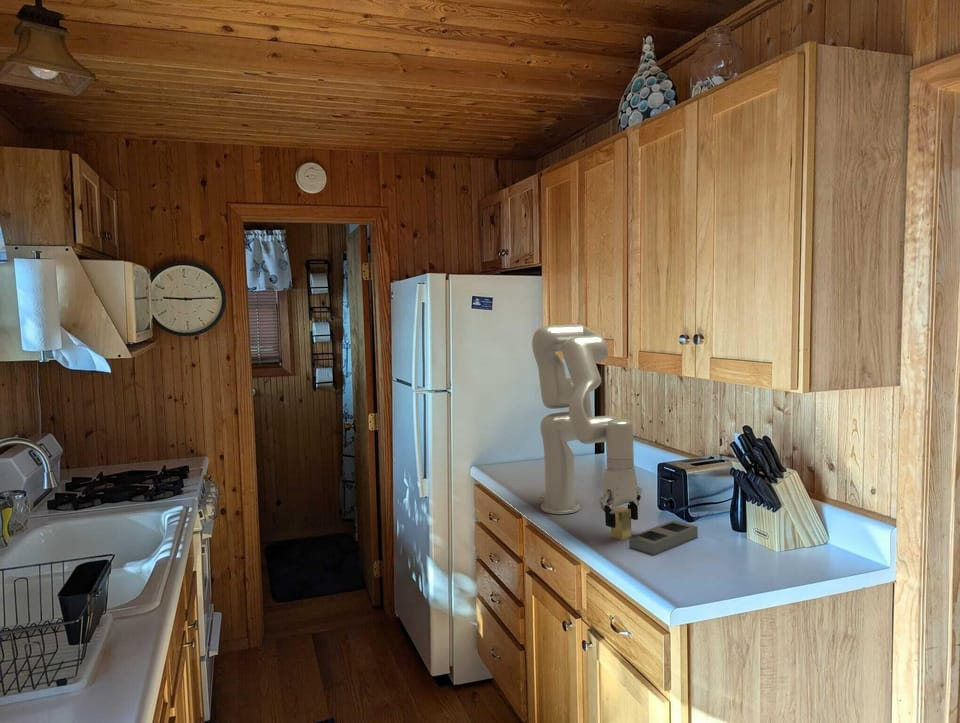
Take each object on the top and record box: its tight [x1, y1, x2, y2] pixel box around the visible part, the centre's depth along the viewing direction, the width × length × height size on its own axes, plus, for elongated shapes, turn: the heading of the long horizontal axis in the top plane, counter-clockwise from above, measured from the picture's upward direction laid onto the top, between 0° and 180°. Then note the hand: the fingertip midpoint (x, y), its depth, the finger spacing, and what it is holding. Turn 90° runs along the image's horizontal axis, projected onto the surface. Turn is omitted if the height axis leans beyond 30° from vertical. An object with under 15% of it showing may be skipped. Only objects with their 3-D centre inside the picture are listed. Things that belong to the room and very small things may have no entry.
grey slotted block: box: [628, 519, 699, 556], centre depth 188 cm, size 8×20×3 cm, turn 129°
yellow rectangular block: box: [610, 506, 632, 541], centre depth 193 cm, size 4×4×8 cm
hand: (621, 522), depth 193 cm, fingers open, 9 cm apart
